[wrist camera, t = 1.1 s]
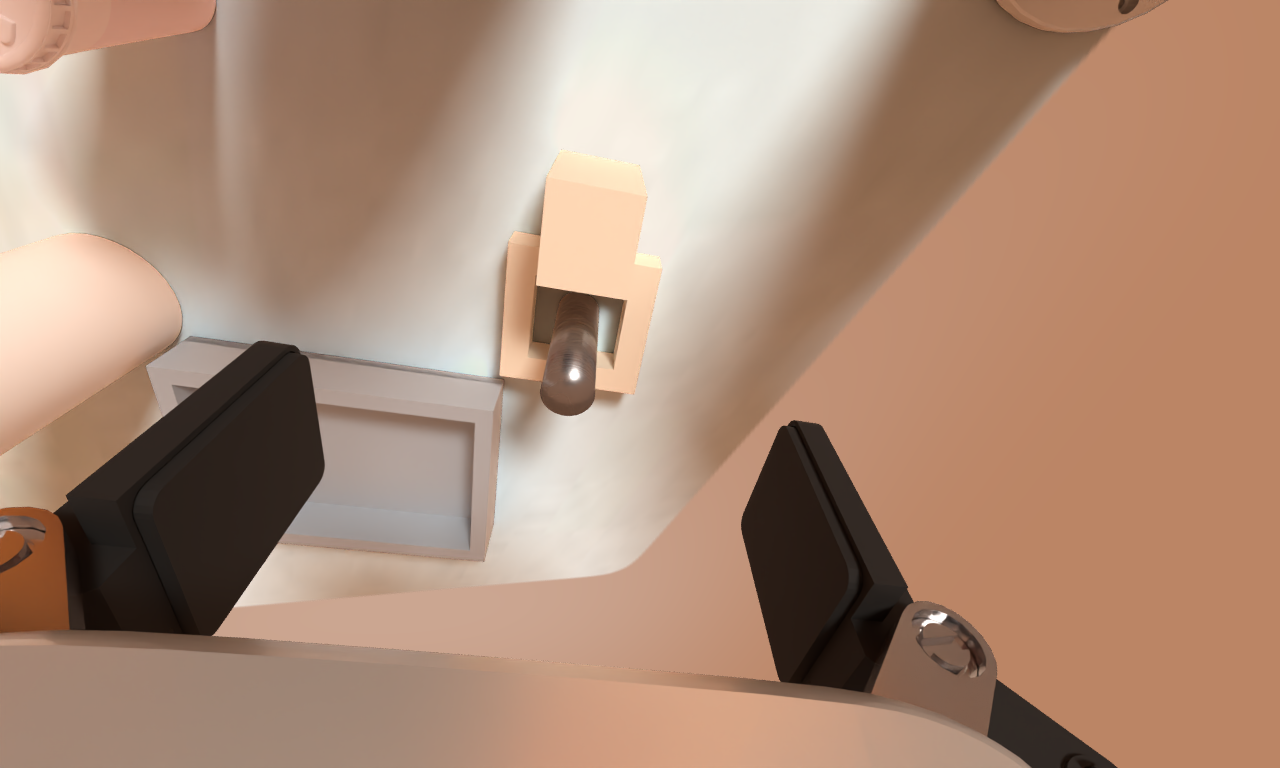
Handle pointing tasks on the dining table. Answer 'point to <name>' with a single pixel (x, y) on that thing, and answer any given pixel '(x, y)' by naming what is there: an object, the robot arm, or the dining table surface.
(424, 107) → the dining table surface
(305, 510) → the tray
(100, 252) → the cylindrical container
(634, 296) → the beige stepped block
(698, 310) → the dining table surface
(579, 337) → the post
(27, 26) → the smoothie
